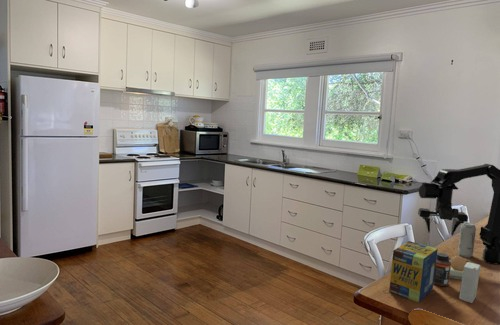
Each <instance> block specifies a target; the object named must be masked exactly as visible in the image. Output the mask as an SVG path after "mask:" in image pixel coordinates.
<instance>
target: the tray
mask: <svg viewBox="0 0 500 325" xmlns="http://www.w3.org/2000/svg"><path fill="white" fill-rule="evenodd" d="M449 261H450V260H449ZM462 276H463V271H456V270H454V269H453V268H452V267H451V268H450V277H449V279H455V280H461V281H462ZM479 281H480V278H479V279H478V283H479Z"/></svg>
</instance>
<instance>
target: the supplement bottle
mask: <svg viewBox="0 0 500 325" xmlns="http://www.w3.org/2000/svg"><path fill="white" fill-rule="evenodd" d="M449 258H450V255H449V254H447V253H444V252H437V259H436V267H435V275H434V283H433V285H435V286H441V287H447V286H449V282H450V278H449V277H450V268H451V262H450V261H449Z"/></svg>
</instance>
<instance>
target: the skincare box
mask: <svg viewBox="0 0 500 325" xmlns="http://www.w3.org/2000/svg"><path fill="white" fill-rule="evenodd" d="M480 271H481V264H477V263H473V262H472V263H470V262H467V263H466V265H465V266H464V270H463V276H462V280H461V284H460V289H459V297H458V300H462V301H463V302H464V301H465V302H468V303H471V304H472V303H474V301H475V299H476V296H477V292H478V287H479V286H478V285H479V282H478V279H479V280H480Z"/></svg>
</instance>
